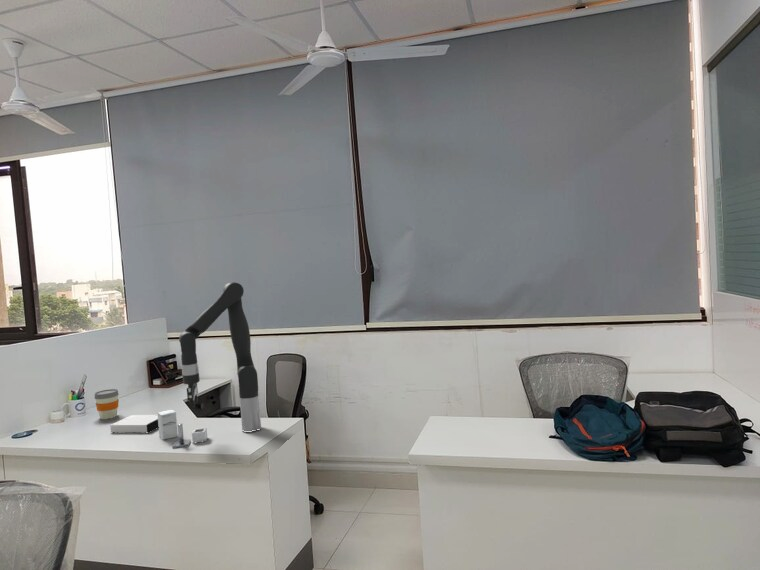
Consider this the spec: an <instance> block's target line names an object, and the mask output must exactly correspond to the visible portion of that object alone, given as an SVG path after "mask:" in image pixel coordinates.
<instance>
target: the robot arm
mask: <svg viewBox="0 0 760 570" xmlns="http://www.w3.org/2000/svg"><path fill="white" fill-rule="evenodd" d="M243 296H244V287H243V285H242V284H240V283H239V282H236V281H235V282H234V281H232V282H231V281H230V282H228V283H226V284H225V285H224V286H223V288H222V293H221V295H220V297H219V298H218V299H216V301H214V302H213V304H211V305H210V306H209V307H208V308H206V309H205V310H204V311H203V312H201V314H200V315H199V316H197V318H196V319H195V320H194V321H193V322H192V324H190V325H189V326H188V327H187V328H186V329H184V331H182V332H181V334H180V335H179V337H178V340H179V345H180V350H181V351H180V352H181V356H180V357H181V359H180V360H181V373H182V382H183V384H184V385H187V387H186V395H187V396H186V398H187V401H188V403H189V409H190V410H191V409H192V410H193V409H195V407H196V404H198V401H199V400H198V395H199V390H198V383H200V380H201V379H200V370H199V364H198V356H197V341H196V340H197V339H198V338H199V337H200V336H201V334H203V333H205V332H206V331H207V330H208V329H209V328H210V327H211V326H212V325H213V324H214V323H215V322H216V320H218V318H219V317H220V316H221V315H222V314H223V313H224V312H225V311H226V310H227V313H228V314H227V316H228V326H229V332H230V339H231V343H232V346H233V350H234V353H235V357H236V364H237V365H236V368H237V372H236V373H237V378H238V388H239V389H238V391H239V392H238V393H239V394H238V395H239V406H240V417H241V419H240V420H241V430H244V431H252V430H257V429H261V430H262V421H261V409H260V401H259V400H260V399H259V381H258V380H259V379H258V378H259V377H258V371H257V369H256V367H255V365H254V362H253V359H252V358H253V357H252V353H251V349H252V348H251V345H252V342H251V341H252V340H251V333H250V327H249V323H248V320H247V317H246V315H245V312H244V308H243V301H242V300H243V299H242V297H243Z"/></svg>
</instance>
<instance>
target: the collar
mask: <svg viewBox="0 0 760 570" xmlns="http://www.w3.org/2000/svg"><path fill="white" fill-rule="evenodd" d="M191 437H192V439H191V440H192V444H196V443H195V442H201V443H203V442H202V441H206V442H207V440H208V427H203V428H195V429H193V430H192V432H191ZM206 439H207V440H206Z"/></svg>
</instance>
